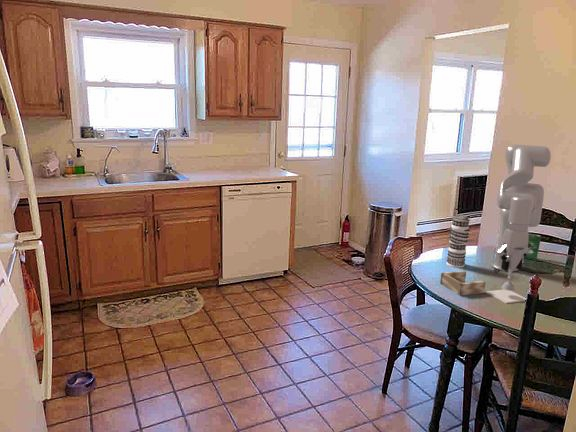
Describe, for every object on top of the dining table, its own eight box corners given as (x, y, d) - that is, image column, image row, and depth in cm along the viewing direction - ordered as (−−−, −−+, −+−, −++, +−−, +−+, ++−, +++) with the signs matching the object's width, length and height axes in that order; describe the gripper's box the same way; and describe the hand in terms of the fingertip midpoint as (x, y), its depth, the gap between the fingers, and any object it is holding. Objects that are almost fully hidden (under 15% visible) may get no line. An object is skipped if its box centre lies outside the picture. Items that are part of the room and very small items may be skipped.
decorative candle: (460, 261, 228) (466, 214, 222) (468, 268, 219) (474, 218, 213) (442, 261, 228) (448, 213, 222) (449, 267, 219) (455, 218, 213)
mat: (507, 290, 194) (507, 288, 193) (527, 300, 183) (527, 299, 183) (486, 292, 190) (486, 291, 190) (505, 303, 180) (506, 302, 180)
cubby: (463, 280, 203) (464, 270, 201) (484, 292, 190) (485, 281, 189) (440, 283, 199) (441, 272, 198) (459, 295, 187) (461, 284, 185)
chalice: (495, 284, 189) (501, 244, 185) (510, 284, 190) (517, 244, 185) (505, 291, 182) (511, 249, 178) (521, 291, 183) (528, 249, 178)
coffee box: (537, 258, 236) (541, 234, 233) (537, 260, 234) (541, 236, 231) (520, 255, 240) (524, 232, 237) (519, 257, 238) (523, 233, 235)
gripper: (527, 223, 186) (520, 264, 190) (493, 225, 181) (487, 267, 185) (542, 228, 179) (534, 270, 183) (507, 230, 174) (500, 274, 178)
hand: (511, 268), depth 184 cm, fingers closed on chalice, 5 cm apart
